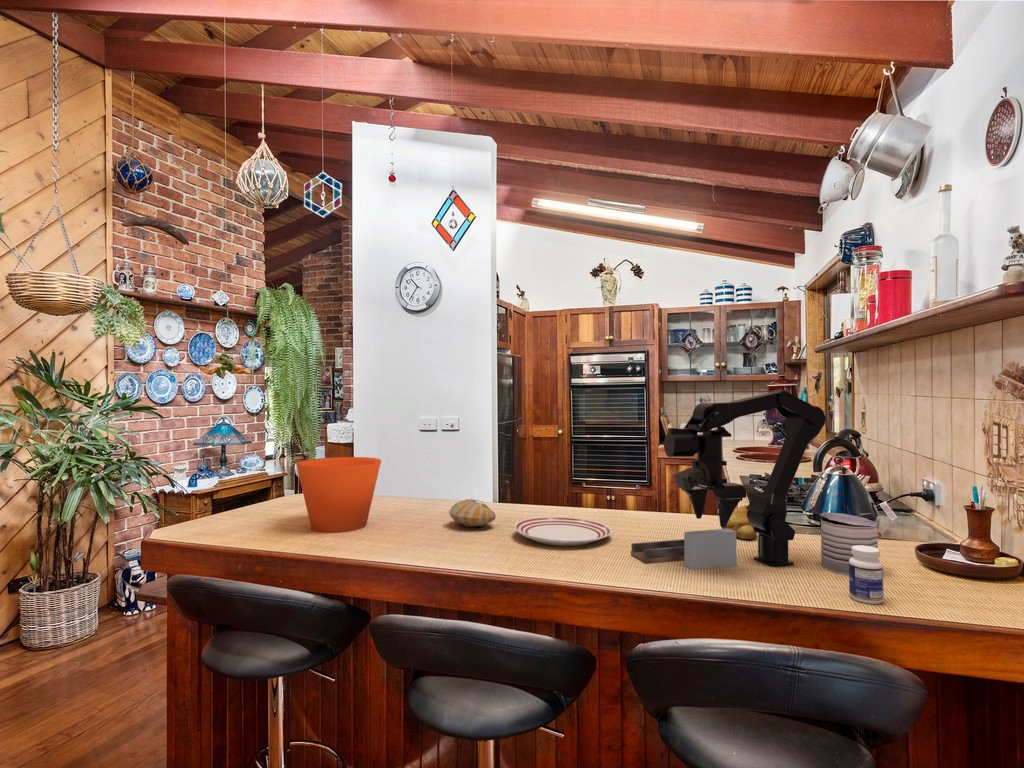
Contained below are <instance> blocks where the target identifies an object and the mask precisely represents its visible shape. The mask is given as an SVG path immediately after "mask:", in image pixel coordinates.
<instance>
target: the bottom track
mask: <svg viewBox="0 0 1024 768" xmlns="http://www.w3.org/2000/svg"><path fill="white" fill-rule="evenodd" d="M630 556H632V558H635V559H636V560H638V561H640V562H642V563H644V564H656V563H657V564H658V563H669V562H679V561H684V538H681V539H669V540H659V541H658V540H656V541H646V542H635V543H631V550H630Z"/></svg>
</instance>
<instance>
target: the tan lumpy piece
mask: <svg viewBox="0 0 1024 768" xmlns="http://www.w3.org/2000/svg"><path fill="white" fill-rule="evenodd" d="M747 506H748V505H741V506H739V507H736V508H735V510H734V511H733V513H732V515H731V517H730V519H729V521H728V523H727V525H726V527H721V526H720V527H721V528H720V529H731V530H733V531H736V538H739V539H741V540H742V539H743V540H753V539H755V537H756V536H757V534H758V533H756V532H754V530H753V527H752V525H751V524H750V523H749V521H748V518H747V511H748V510H747V509H746V507H747Z"/></svg>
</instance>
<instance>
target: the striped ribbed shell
mask: <svg viewBox="0 0 1024 768" xmlns="http://www.w3.org/2000/svg"><path fill="white" fill-rule="evenodd" d="M448 514H449V516H450V517H451V518H452V519H453V521H454V523H457V524H460V525H463V526H465V527H467V528H468V527H469V528H470V527H481V528H483V527H484V526H485V525H487V524H490V523H492V522H493V521H495V520H496V518H497V517H496V512H495V511H493V510H492V509H491V508H490V507H489V506H487V504H485V503H484V501H480V500H477V499H473V498H466V499H464V500H458V501H457V502H456V503H455V504H453V505H452V506H451V508H450V510H449V511H448Z"/></svg>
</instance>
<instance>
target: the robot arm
mask: <svg viewBox="0 0 1024 768" xmlns="http://www.w3.org/2000/svg"><path fill="white" fill-rule="evenodd" d="M773 409H775V411H776V412H777V413H778V414H779V416H781V417H782V418H784V419H785V423H784V430H785V439H784V441H783V444H782V447H781V449H780V451H779V453H778V456H777V459H776V461H775V464H774V466H773V468H772V471H771V473H770V476H769V479H768V481H767V483H766V485H765V489H764V490H763V491H762V492H761V493H760V494H756V493H752V495H751V497H750V501H749V504H748V505H747V507H746V509H747V510H748V511H747V518H748V521H749V523H750V524H751V525H752V527H753V530H754V532H756V533H757V534H758V539H757V555H758V556H753V560H755V561H758V562H760V563H762V564H764V565H767V566H770V567H780V566H791V565H795V561H793V560H790V559H789V541H793V540H794V539H795V535H796V530H795V529H794V528H793V527H792V526H791V525H790V524H789V523H788V522H787V521H786V519H787V516H788V515H787V514H788V509H787V507H788V506H787V500H786V499H787V497H788V494H789V491H790V489H791V486H792V484H793V481H794V479H795V476H796V474H797V471H798V470H799V466H800V464H801V462H802V460H803V456H804V454H805V452H806V449H807V446H808V445H809V444H810V443H811V442H812V441H813V440H814V439H815V438H817V437H818V436H819V434H820V433H821V431H822V429H823V427H824V426H825V424H826V423H827V422H826V421H827V416H826V414H825V412H824V411H823V409H822V408H821V407H820V406H816V405H812V404H811V403H809V402H807V401H806V400H803V399H801V398H798V397H796V396H795V395H793V394H792V393H790V392H788V390H780V389H779V390H778V389H777V390H771V391H769V392H767V393H761V394H757V395H754V396H748V397H744V398H740V399H737V400H736V399H735V400H732V401H731V400H730V401H723V402H722V401H721V402H718V401H717V402H701V403H699V404H698V403H697V404H696V405H695V407H694V409H693V411H692V416H691V417H690V419H689V420H688V421H687V423H685V426H684V427H683V428H678V427H668V428H667V433H666V435H665V437H664V441H663V449H664V452H665V455H666V457H668V458H685V457H686V458H691V457H694V456H695V455H696V459H693V461H692V462H691V464H692V465H691V467H688V468H686V469H683V470H681V471H679V472H676V473H675V474H674V479H675V483H676V485H677V488H678V489H680V490H681V491H683V492H684V493H685V494H686V495H687V496H688V498H689V500H690V502H691V506H692V508H693V511H694V514H695V517H696V519H697V520H698V519H702V517H703V513H704V509H705V505H706V499H707V495H708V491H712V493H713V495H714V497H712V500H714V501H715V502H716V504H717V507H718V509H717V510H718V517H719V527H726V525H727V523H728V521H729V519H730V517H731V515H732V513H733V511H735V510H736V509H737V506H738V505H739V503H740V502H742V501H744V500H743V499H745V498H747V494H748V493H747V488H746V486H744V484H740V483H735V482H728V479H727V478H724V469H723V468H724V467H726V466H728V464H727V463H728V462H727V460H724V458H723V457H724V456H723V438H730V437H732V433H730V432H729V431H728V430H727V429H726V427H724V426H725V425H728V424H730V423H731V422H733V421H734V420H735V419H738V418H740V417H745V416H749V415H754V414H756V413H757V414H758V413H761V412H764V411H765V412H766V411H770V410H773Z"/></svg>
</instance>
